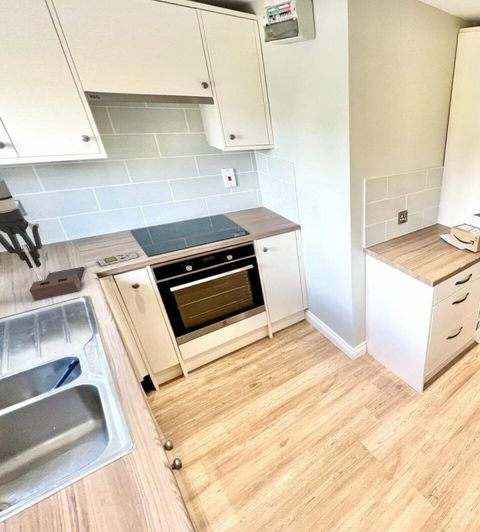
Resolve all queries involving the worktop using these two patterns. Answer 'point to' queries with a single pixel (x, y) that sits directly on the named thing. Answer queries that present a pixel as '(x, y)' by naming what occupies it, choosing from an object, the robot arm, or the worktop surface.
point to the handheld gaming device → (117, 258)
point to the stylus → (33, 262)
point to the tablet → (67, 273)
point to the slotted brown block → (55, 287)
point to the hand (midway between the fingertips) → (35, 266)
